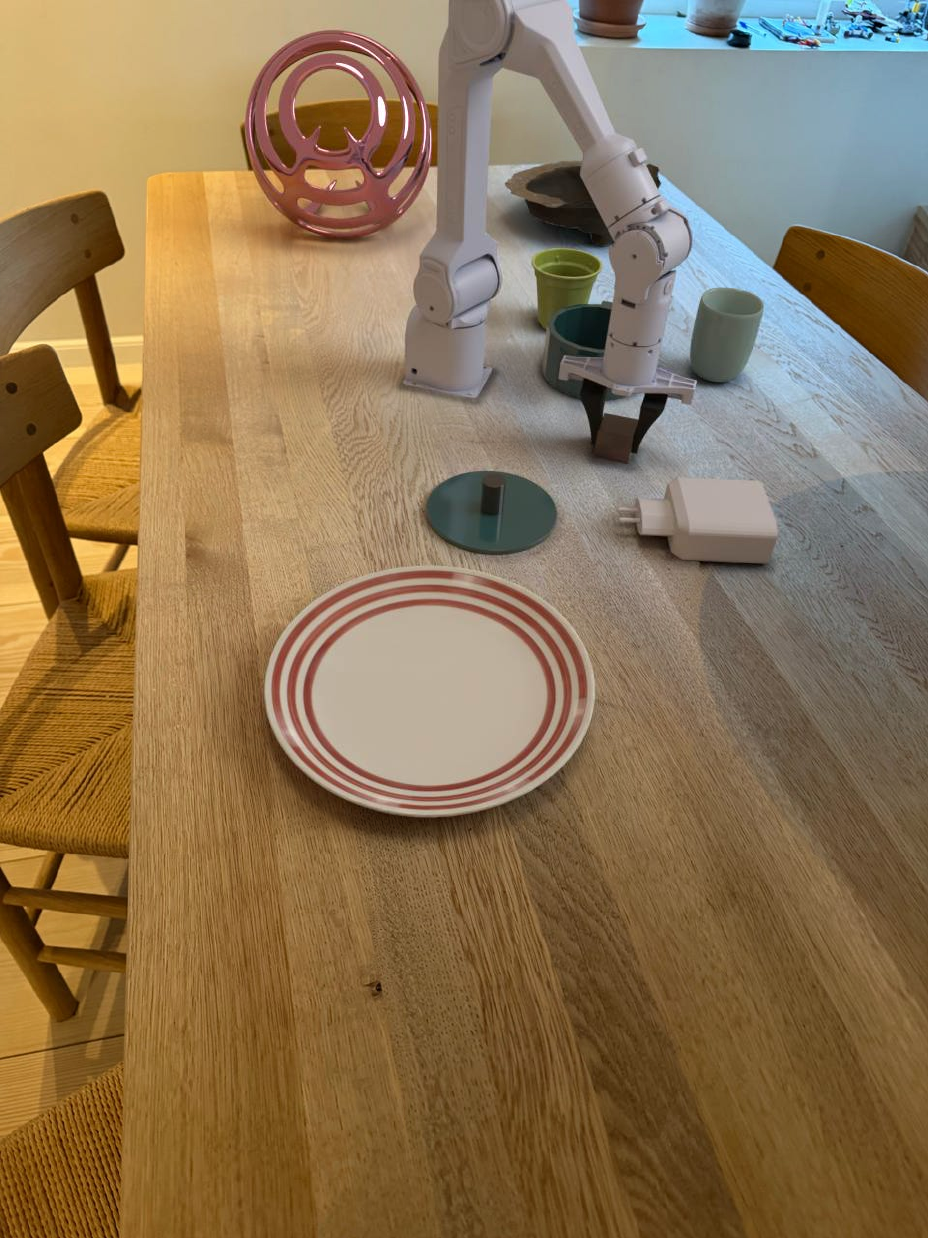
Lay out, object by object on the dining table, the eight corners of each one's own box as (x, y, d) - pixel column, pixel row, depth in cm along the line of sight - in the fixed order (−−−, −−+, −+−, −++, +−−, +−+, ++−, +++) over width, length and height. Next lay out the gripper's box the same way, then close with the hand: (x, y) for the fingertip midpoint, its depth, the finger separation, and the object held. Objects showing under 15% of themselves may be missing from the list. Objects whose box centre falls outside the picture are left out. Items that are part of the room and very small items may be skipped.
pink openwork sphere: (288, 47, 154) (261, -37, 127) (452, 108, 157) (460, 38, 130) (240, 220, 158) (204, 174, 132) (401, 277, 161) (398, 243, 135)
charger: (610, 506, 102) (748, 512, 103) (619, 562, 96) (767, 568, 96) (617, 469, 99) (760, 476, 100) (626, 525, 93) (780, 531, 93)
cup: (744, 393, 121) (765, 319, 114) (682, 384, 122) (699, 310, 115) (744, 363, 126) (764, 291, 119) (684, 355, 127) (701, 283, 120)
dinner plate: (484, 899, 68) (487, 874, 66) (197, 731, 78) (190, 704, 76) (642, 667, 85) (649, 641, 83) (391, 553, 95) (391, 527, 93)
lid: (408, 541, 97) (408, 504, 93) (449, 468, 106) (450, 431, 103) (538, 571, 94) (543, 534, 91) (568, 494, 104) (573, 457, 100)
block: (592, 460, 108) (597, 430, 106) (599, 442, 111) (604, 412, 108) (627, 468, 108) (633, 437, 105) (633, 449, 110) (639, 419, 108)
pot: (526, 399, 117) (531, 351, 113) (559, 334, 130) (565, 288, 125) (627, 419, 115) (637, 371, 110) (651, 351, 128) (660, 305, 123)
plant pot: (516, 330, 130) (521, 268, 124) (538, 302, 136) (544, 242, 130) (581, 345, 128) (590, 283, 122) (601, 316, 134) (610, 255, 128)
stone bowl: (666, 258, 149) (674, 197, 142) (506, 262, 149) (506, 201, 143) (647, 195, 166) (653, 139, 160) (503, 199, 167) (503, 143, 160)
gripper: (558, 338, 98) (544, 450, 107) (700, 364, 95) (673, 477, 104) (573, 308, 102) (558, 418, 112) (708, 333, 100) (682, 443, 109)
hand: (614, 444), depth 108 cm, fingers closed on block, 4 cm apart
